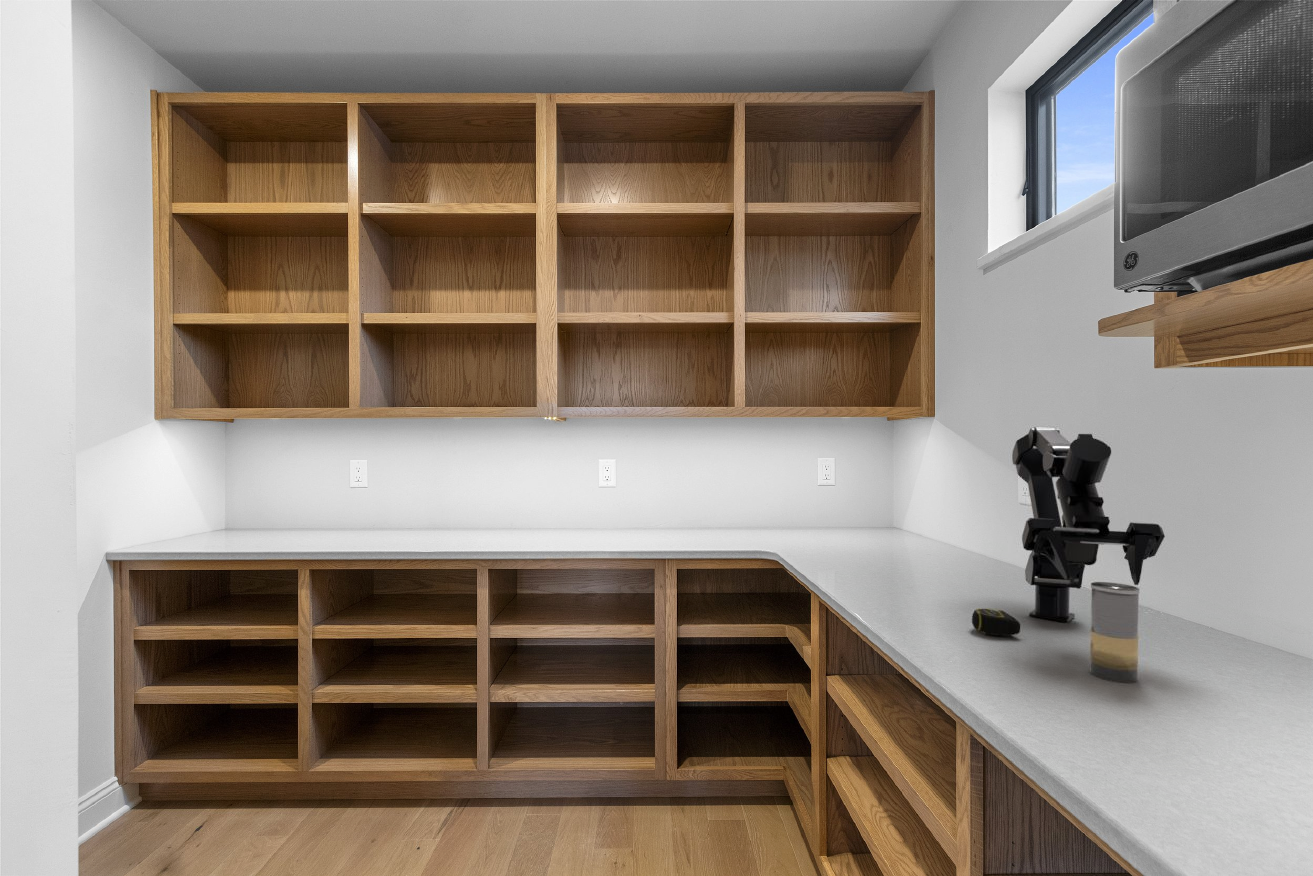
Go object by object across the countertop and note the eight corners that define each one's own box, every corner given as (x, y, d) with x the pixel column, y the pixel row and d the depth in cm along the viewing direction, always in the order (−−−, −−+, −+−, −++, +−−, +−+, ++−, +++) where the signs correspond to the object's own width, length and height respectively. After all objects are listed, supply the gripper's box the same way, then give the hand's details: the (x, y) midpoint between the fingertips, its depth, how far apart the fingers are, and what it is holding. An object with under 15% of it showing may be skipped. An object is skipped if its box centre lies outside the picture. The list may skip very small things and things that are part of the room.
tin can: (1094, 666, 100) (1095, 580, 100) (1141, 676, 96) (1142, 586, 96) (1085, 675, 96) (1086, 586, 96) (1134, 686, 92) (1135, 593, 92)
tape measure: (1021, 640, 113) (1022, 618, 113) (979, 638, 114) (979, 616, 114) (1006, 629, 120) (1006, 608, 120) (966, 627, 121) (966, 606, 121)
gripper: (1131, 535, 114) (1157, 615, 104) (1011, 529, 120) (1024, 604, 109) (1150, 493, 107) (1181, 574, 96) (1021, 489, 112) (1037, 565, 102)
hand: (1102, 581), depth 101 cm, fingers open, 9 cm apart
